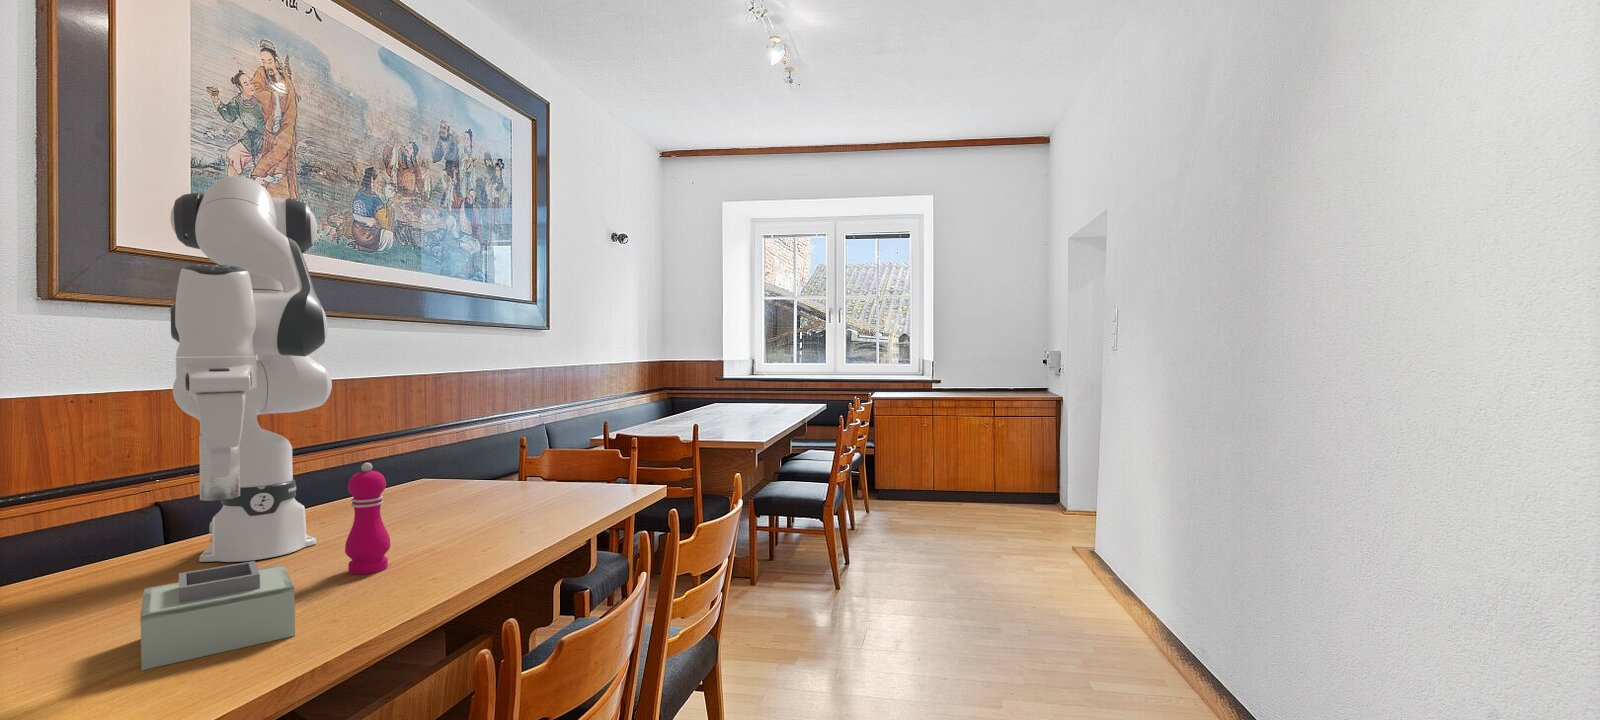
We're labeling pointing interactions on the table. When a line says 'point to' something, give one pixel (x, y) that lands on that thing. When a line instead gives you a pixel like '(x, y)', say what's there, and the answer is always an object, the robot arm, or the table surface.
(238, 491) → the canister
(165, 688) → the table surface
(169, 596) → the green square holder
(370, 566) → the pepper mill
